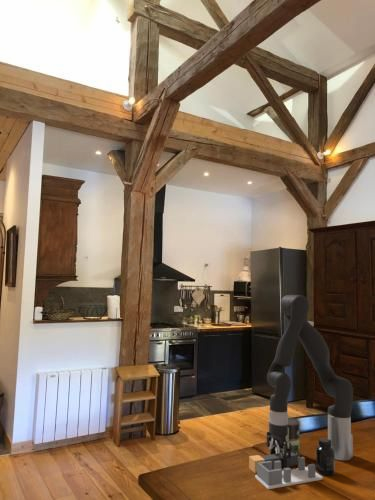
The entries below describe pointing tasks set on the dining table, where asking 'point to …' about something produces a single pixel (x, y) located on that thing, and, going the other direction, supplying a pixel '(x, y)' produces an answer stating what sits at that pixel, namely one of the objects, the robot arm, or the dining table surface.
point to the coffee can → (293, 436)
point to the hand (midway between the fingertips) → (278, 463)
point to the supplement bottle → (325, 457)
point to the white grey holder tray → (285, 474)
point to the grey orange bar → (274, 457)
